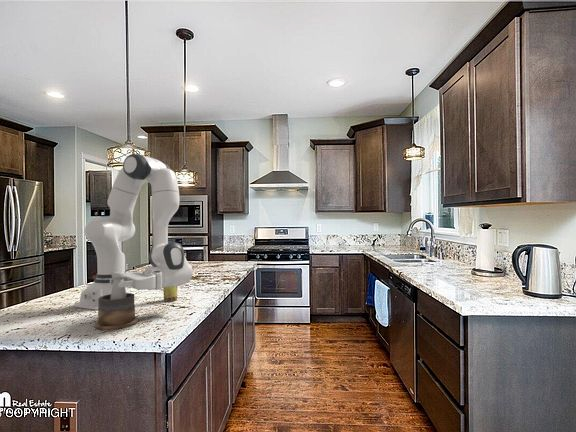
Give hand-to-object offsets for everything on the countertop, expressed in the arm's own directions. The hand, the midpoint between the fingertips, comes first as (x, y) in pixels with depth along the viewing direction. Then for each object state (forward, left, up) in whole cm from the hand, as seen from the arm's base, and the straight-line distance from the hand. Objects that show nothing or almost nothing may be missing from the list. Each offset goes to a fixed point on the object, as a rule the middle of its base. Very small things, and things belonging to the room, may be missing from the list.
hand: (114, 283), depth 120 cm
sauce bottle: (+1, +37, -15) cm, 40 cm away
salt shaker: (+1, +1, -9) cm, 9 cm away
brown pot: (+1, +1, -15) cm, 15 cm away
